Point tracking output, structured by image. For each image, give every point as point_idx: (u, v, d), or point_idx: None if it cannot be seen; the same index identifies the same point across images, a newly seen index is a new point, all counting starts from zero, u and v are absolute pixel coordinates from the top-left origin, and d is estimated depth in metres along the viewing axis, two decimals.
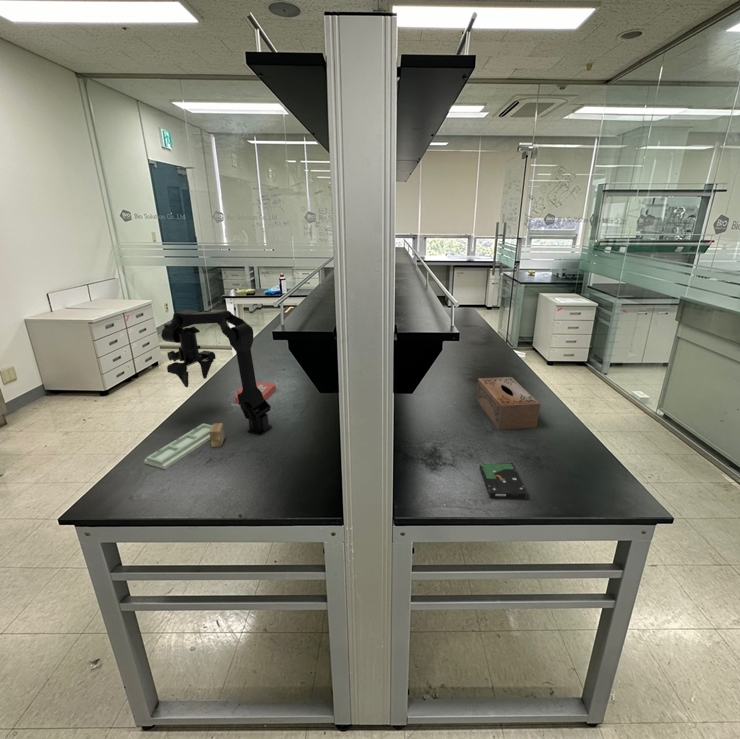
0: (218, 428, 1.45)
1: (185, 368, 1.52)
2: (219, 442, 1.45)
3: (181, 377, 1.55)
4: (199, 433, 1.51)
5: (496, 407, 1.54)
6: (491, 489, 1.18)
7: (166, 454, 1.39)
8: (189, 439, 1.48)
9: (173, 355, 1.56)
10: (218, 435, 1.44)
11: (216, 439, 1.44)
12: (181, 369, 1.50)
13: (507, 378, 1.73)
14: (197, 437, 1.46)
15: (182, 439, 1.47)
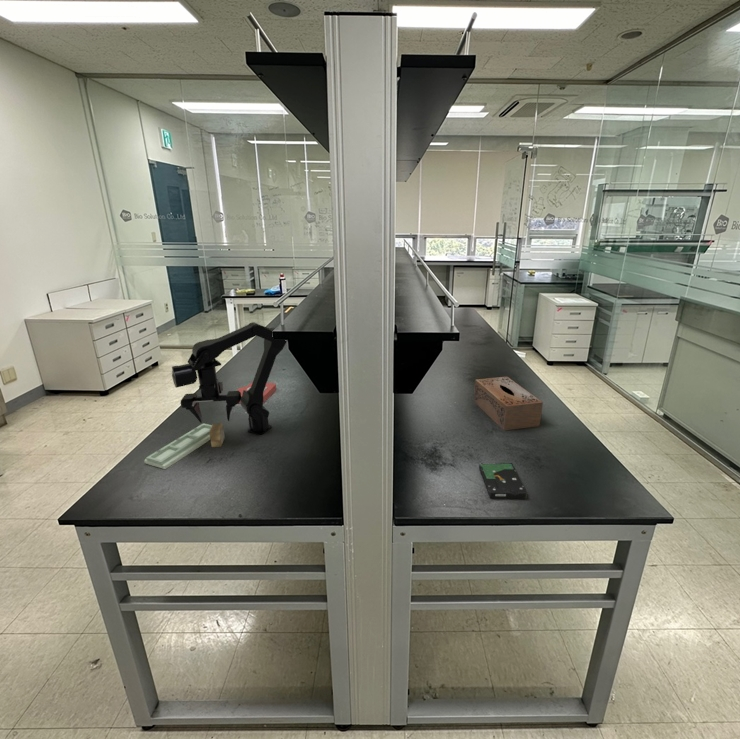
0: (218, 428, 1.45)
1: (189, 404, 1.38)
2: (219, 442, 1.45)
3: None
4: (199, 433, 1.51)
5: (500, 408, 1.54)
6: (491, 489, 1.17)
7: (166, 454, 1.39)
8: (189, 439, 1.48)
9: None
10: (218, 435, 1.44)
11: (216, 439, 1.44)
12: (184, 403, 1.38)
13: (503, 377, 1.74)
14: (197, 437, 1.46)
15: (182, 439, 1.47)
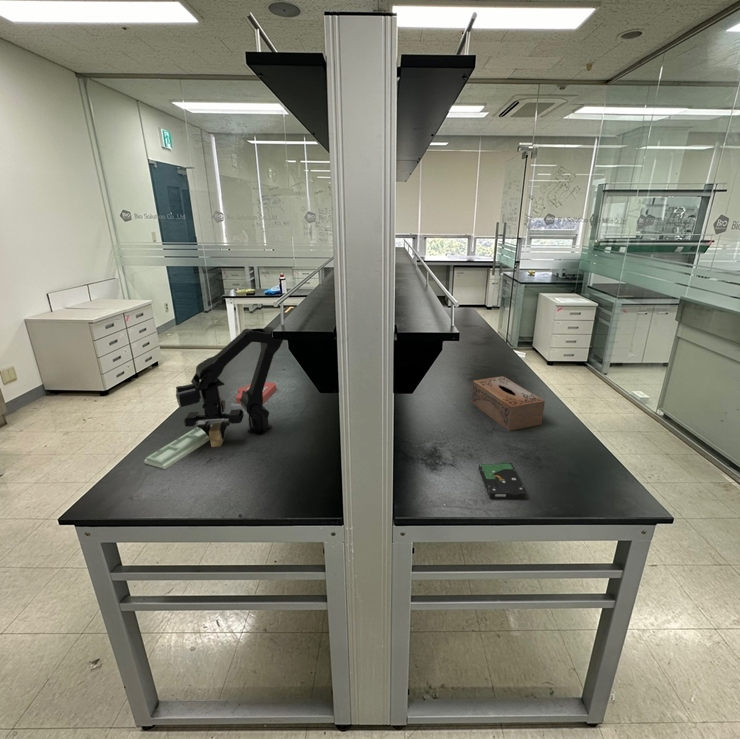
0: (218, 428, 1.45)
1: (193, 423, 1.41)
2: (219, 442, 1.45)
3: None
4: (199, 433, 1.51)
5: (503, 408, 1.53)
6: (491, 490, 1.17)
7: (166, 454, 1.39)
8: (189, 439, 1.48)
9: None
10: (218, 435, 1.44)
11: (216, 439, 1.44)
12: (187, 422, 1.41)
13: (499, 377, 1.74)
14: (197, 437, 1.46)
15: (182, 439, 1.47)
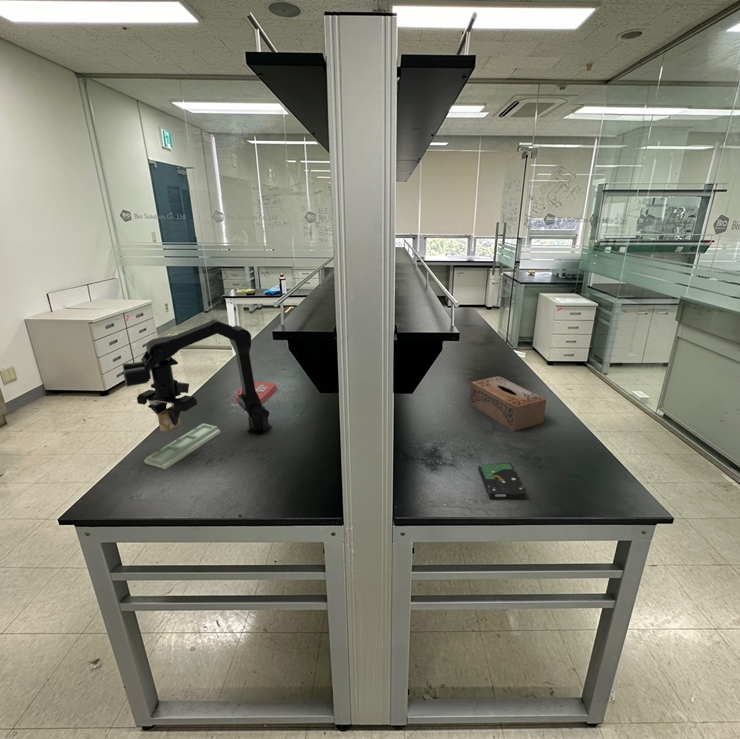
0: None
1: (143, 401, 1.32)
2: (166, 427, 1.33)
3: None
4: (199, 433, 1.51)
5: (507, 409, 1.53)
6: (491, 490, 1.17)
7: (166, 454, 1.39)
8: (189, 439, 1.48)
9: None
10: (165, 419, 1.32)
11: (164, 423, 1.33)
12: (139, 399, 1.32)
13: (496, 377, 1.74)
14: (197, 437, 1.46)
15: (182, 439, 1.47)
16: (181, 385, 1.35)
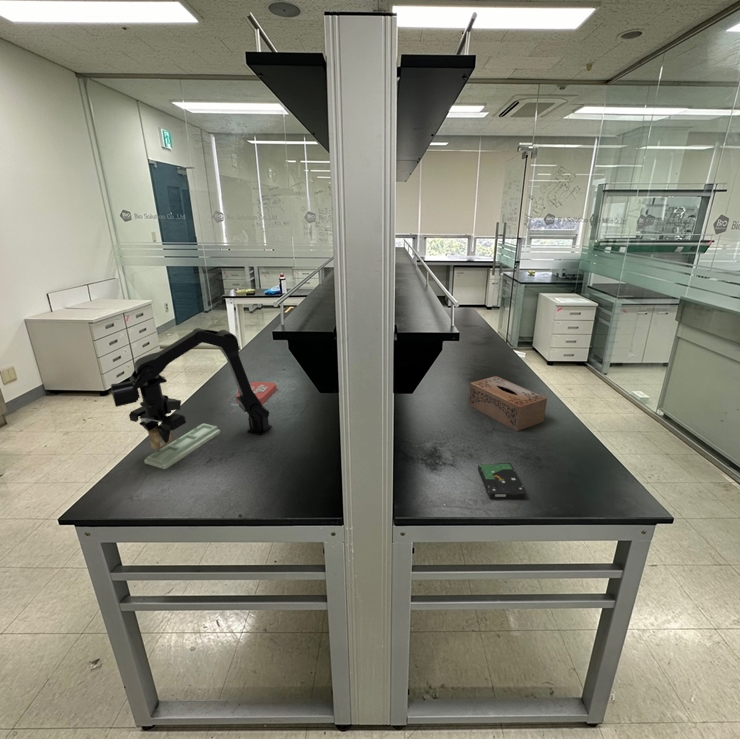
0: None
1: (135, 418, 1.33)
2: (157, 445, 1.33)
3: None
4: (199, 433, 1.51)
5: (510, 409, 1.53)
6: (491, 490, 1.17)
7: (166, 454, 1.39)
8: (189, 439, 1.48)
9: None
10: (155, 437, 1.32)
11: (154, 441, 1.33)
12: (131, 417, 1.33)
13: (493, 377, 1.74)
14: (197, 437, 1.46)
15: (182, 439, 1.47)
16: (172, 402, 1.34)
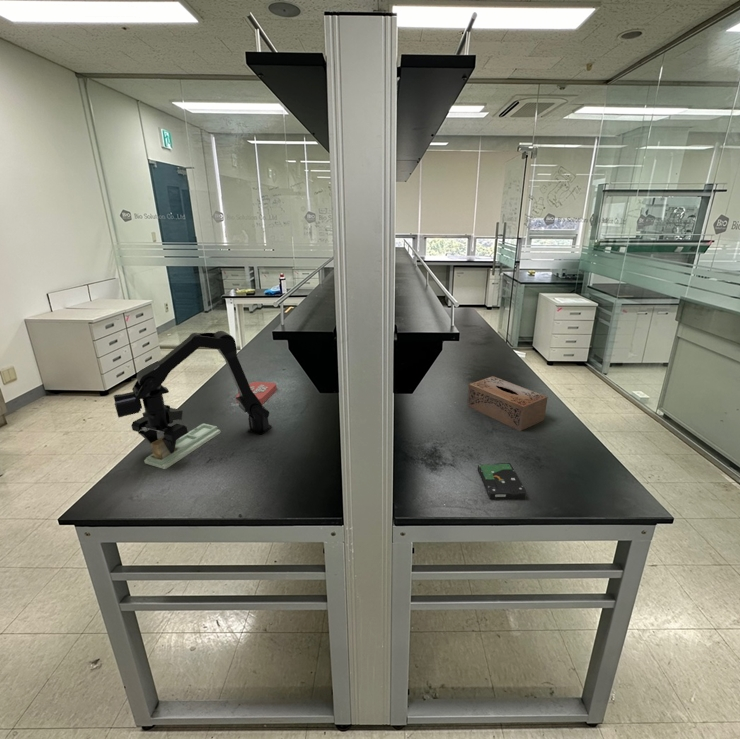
0: (161, 441, 1.35)
1: (137, 428, 1.34)
2: (159, 457, 1.34)
3: None
4: (199, 433, 1.51)
5: (513, 409, 1.52)
6: (491, 490, 1.17)
7: None
8: (189, 439, 1.48)
9: None
10: (158, 449, 1.33)
11: (156, 453, 1.34)
12: (133, 426, 1.34)
13: (491, 378, 1.74)
14: (197, 437, 1.46)
15: (182, 439, 1.47)
16: (174, 412, 1.36)
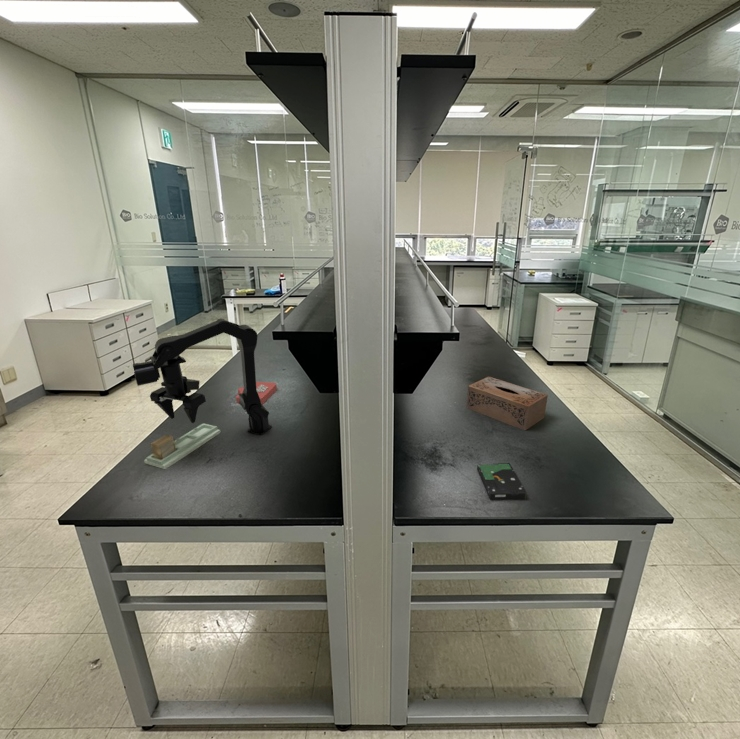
0: (161, 441, 1.35)
1: (156, 398, 1.36)
2: (159, 457, 1.34)
3: None
4: (199, 433, 1.51)
5: (517, 409, 1.52)
6: (491, 490, 1.17)
7: None
8: (189, 439, 1.48)
9: None
10: (158, 449, 1.33)
11: (156, 453, 1.34)
12: (152, 397, 1.37)
13: (487, 378, 1.73)
14: (197, 437, 1.46)
15: (182, 439, 1.47)
16: (191, 382, 1.38)
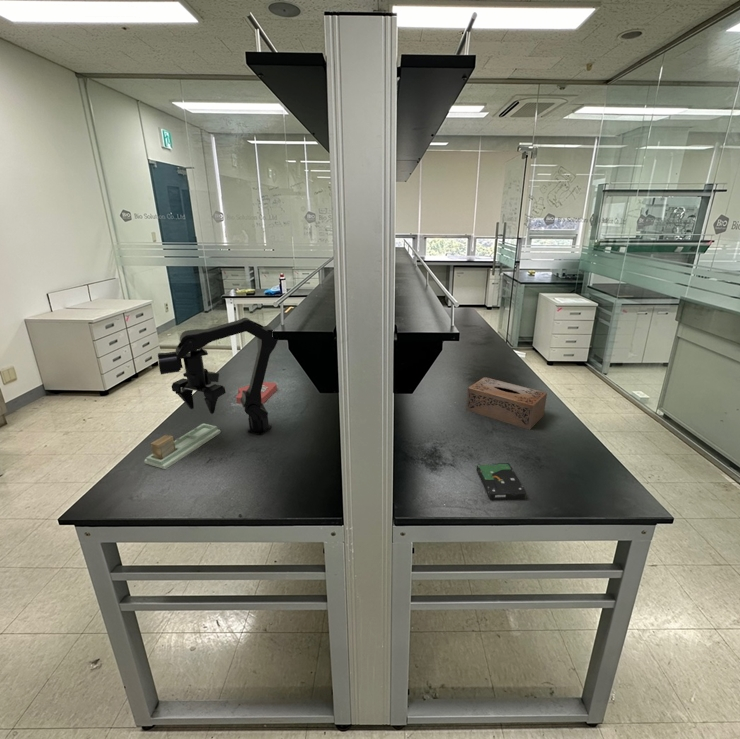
0: (161, 441, 1.35)
1: (177, 389, 1.41)
2: (159, 457, 1.34)
3: None
4: (199, 433, 1.51)
5: (521, 409, 1.53)
6: (491, 490, 1.17)
7: None
8: (189, 439, 1.48)
9: None
10: (158, 449, 1.33)
11: (156, 453, 1.34)
12: (173, 387, 1.41)
13: (484, 379, 1.73)
14: (197, 437, 1.46)
15: (182, 439, 1.47)
16: (211, 374, 1.43)
